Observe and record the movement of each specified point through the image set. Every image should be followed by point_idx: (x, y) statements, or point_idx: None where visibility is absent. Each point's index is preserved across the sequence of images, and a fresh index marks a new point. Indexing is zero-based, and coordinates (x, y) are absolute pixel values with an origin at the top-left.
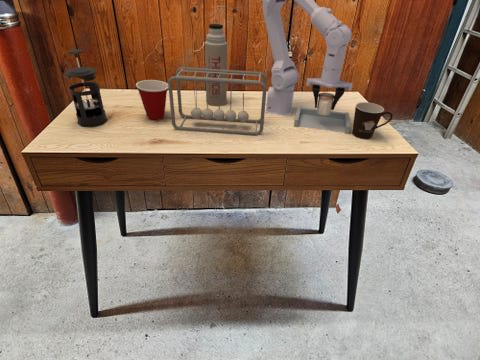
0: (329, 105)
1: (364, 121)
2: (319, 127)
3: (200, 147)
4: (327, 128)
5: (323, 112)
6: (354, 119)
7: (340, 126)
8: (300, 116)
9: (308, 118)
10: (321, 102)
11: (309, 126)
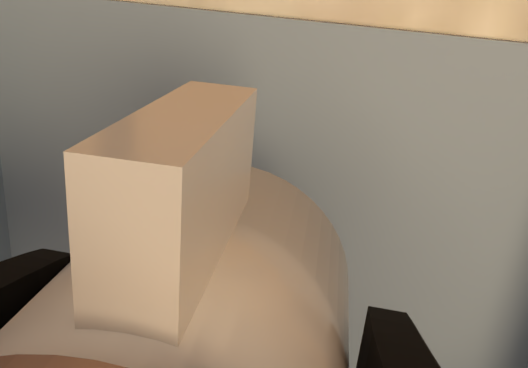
0: (69, 270)
1: None
2: (296, 74)
3: None
4: (192, 61)
5: (235, 90)
6: None
7: (42, 150)
8: (514, 356)
9: (414, 312)
10: (276, 343)
11: (438, 77)
